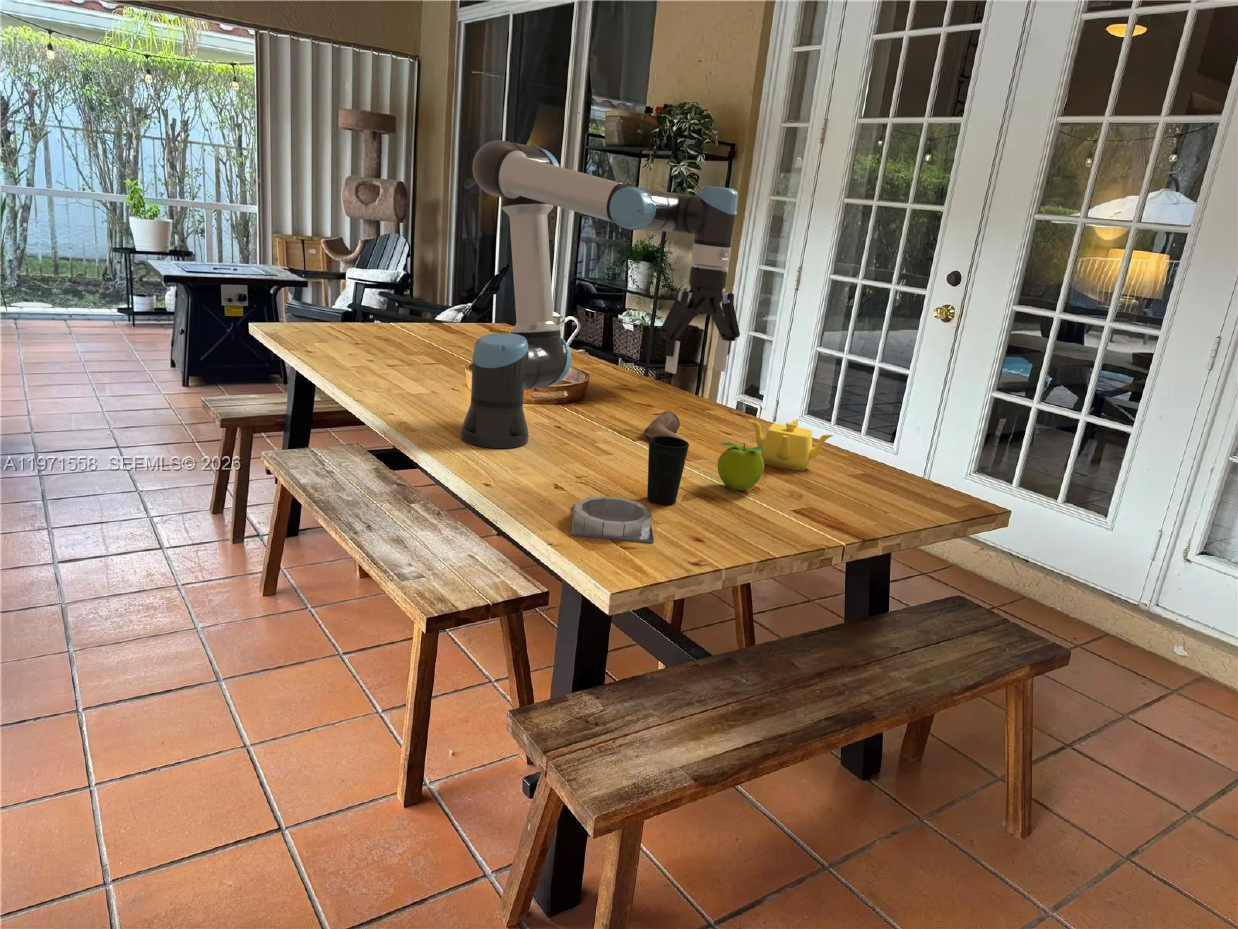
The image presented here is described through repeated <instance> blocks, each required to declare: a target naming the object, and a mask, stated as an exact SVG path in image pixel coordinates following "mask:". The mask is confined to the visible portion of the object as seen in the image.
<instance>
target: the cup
mask: <svg viewBox="0 0 1238 929" xmlns="http://www.w3.org/2000/svg"><path fill="white" fill-rule="evenodd" d="M683 439H684V438H682V439H680V438H676V437H669V436H654V437H651V438H650V437H649V440H648V461H647V462H648V463H647V464H648V465H647V467H648V468H647V491H646V492H647V494H646V495H647V496H646V499H647V501H648V502H649V503H651V504H653V505H656V506H664V507H665V506H666V507H667V506H669V507H670V506H674V505H675V504H676V502H677V497H678V495H679V490H680V486H681V482H682V476H683V473H684V469H685V468H684V467H685V465H686V460H687V455H688V453H689V452H688V451H689V448H690V443H689V442H688V441H687V440H685V439H684V440H683Z"/></svg>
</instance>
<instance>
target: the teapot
mask: <svg viewBox="0 0 1238 929" xmlns="http://www.w3.org/2000/svg"><path fill="white" fill-rule="evenodd" d="M748 421H749V423H751V424H752V426H754V432H755V442H756V444H757V447H761V448H762V449H763V450H764V452H761V451H760V454H761V455H762V458H763V461H764V465H767V466H772V467H777V468H782V469H787V470H794V471H798V472H799V471H800V472H805V470H806V469H807V467H808V465H809V463H810V460H812V459H815V458H816V457H818V455H819V454H820V453H821V451H822V448H823V446H824V444H825V442H826V441H827V440H828V439H829V438H831V437H834V436H835V435H834V434H822V435H821V436H820V438H819V439H818V441H817V443H816V444H815V446H814V445H813V430H811V429H808V428H802V427H799V426H798V424H799V420H798V419H794V420H793V421H792V422H786V423H785V424H781V423H780V424H779V423H772V424H771V426H770V427H769V428H768V429H767V431H766V435H765V437H764V436H763V433H762V426H761V424H760V422H758V421H755V420H753V419H748Z"/></svg>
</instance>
